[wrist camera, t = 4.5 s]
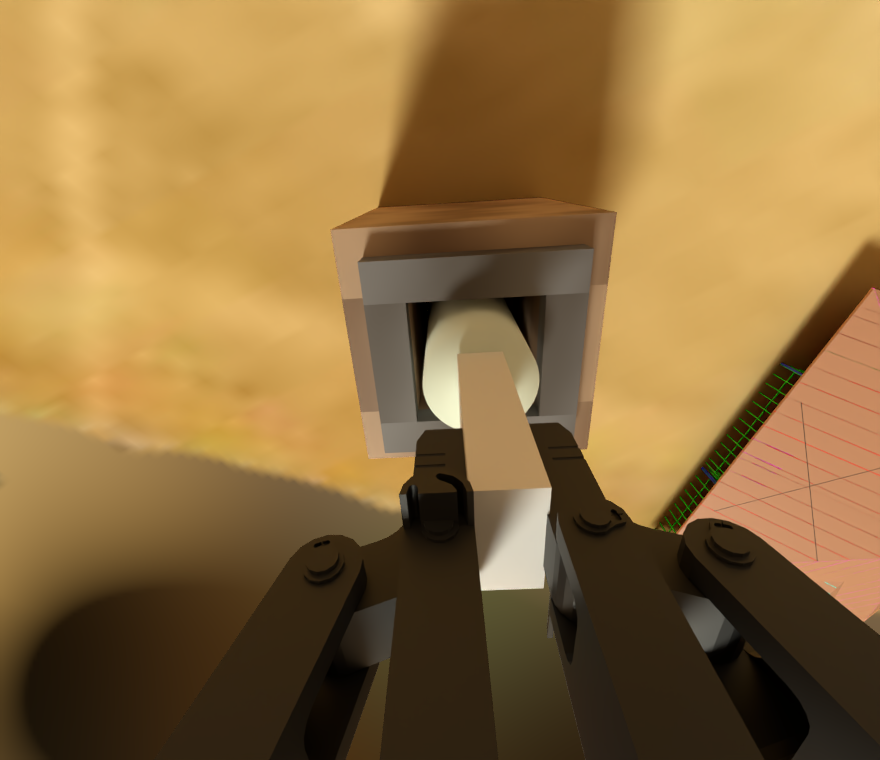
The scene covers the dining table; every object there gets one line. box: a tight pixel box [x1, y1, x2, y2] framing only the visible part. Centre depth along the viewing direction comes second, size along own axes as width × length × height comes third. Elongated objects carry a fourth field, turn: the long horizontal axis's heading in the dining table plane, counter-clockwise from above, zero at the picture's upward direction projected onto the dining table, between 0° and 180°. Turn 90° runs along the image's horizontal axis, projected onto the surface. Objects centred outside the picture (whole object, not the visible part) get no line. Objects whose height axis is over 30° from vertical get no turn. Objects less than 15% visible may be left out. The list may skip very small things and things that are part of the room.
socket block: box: [331, 197, 617, 459], centre depth 21 cm, size 10×10×13 cm
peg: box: [423, 298, 539, 428], centre depth 19 cm, size 4×4×12 cm
